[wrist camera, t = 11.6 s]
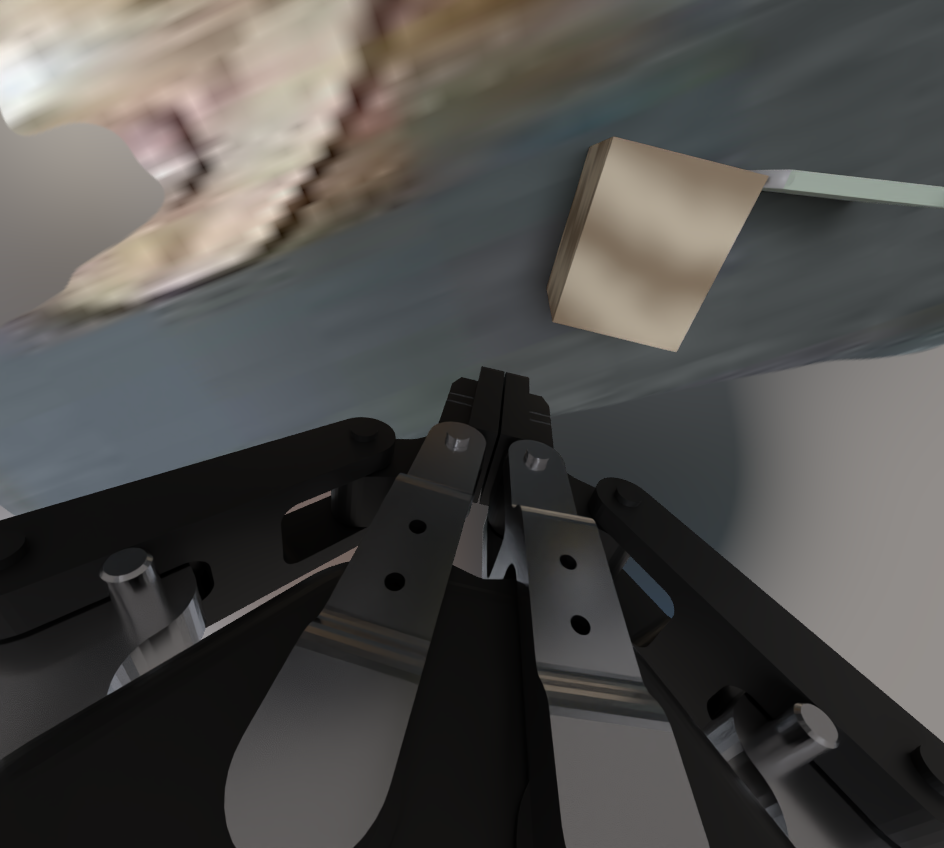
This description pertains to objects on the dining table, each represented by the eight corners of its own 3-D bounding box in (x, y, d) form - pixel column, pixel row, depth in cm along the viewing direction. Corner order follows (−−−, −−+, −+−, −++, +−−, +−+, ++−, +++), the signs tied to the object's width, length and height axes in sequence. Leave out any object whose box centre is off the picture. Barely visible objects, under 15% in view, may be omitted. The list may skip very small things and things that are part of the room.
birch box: (589, 146, 34) (613, 136, 25) (702, 175, 34) (769, 176, 25) (546, 288, 40) (552, 321, 31) (641, 311, 41) (676, 352, 31)
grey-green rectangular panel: (702, 189, 34) (814, 198, 21) (711, 164, 33) (833, 158, 20) (851, 206, 34) (1060, 227, 21) (864, 182, 33) (1092, 187, 20)
